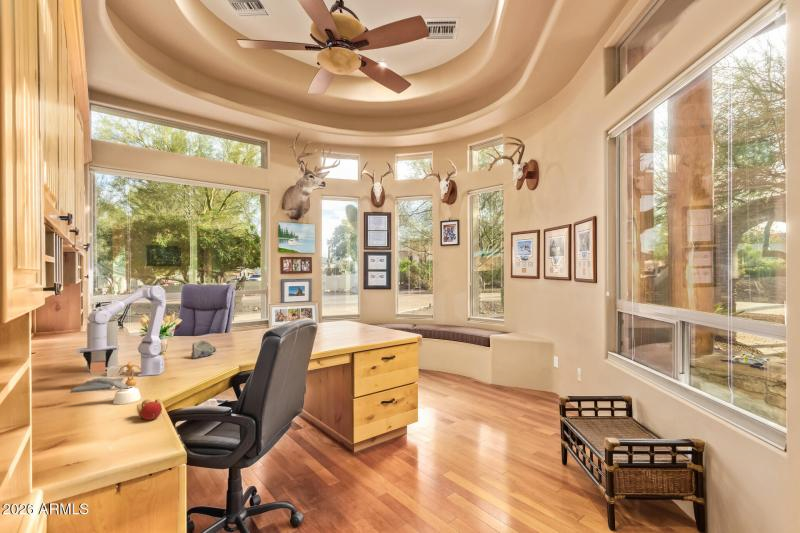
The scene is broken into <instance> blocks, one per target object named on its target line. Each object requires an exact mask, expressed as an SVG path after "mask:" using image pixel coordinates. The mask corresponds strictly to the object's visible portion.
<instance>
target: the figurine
mask: <svg viewBox="0 0 800 533" xmlns="http://www.w3.org/2000/svg"><path fill="white" fill-rule="evenodd" d="M133 367H137V369H139V370H140V372H141V371H142V370H141V366H139V365H137V364H133V363H132V361H131V360H129V361H128V363H127V364H124V366H123V367H121V368H120V370H119V373H120V371H121V369H122V368H124V369H125V368H127V369H126V374H127V380H126V381H125V383H124V384H125V385H127V386H134V387H136V385H137V380H136V379H135V378H134V374H135V370H134V369H133ZM130 373H131V378H130Z"/></svg>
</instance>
